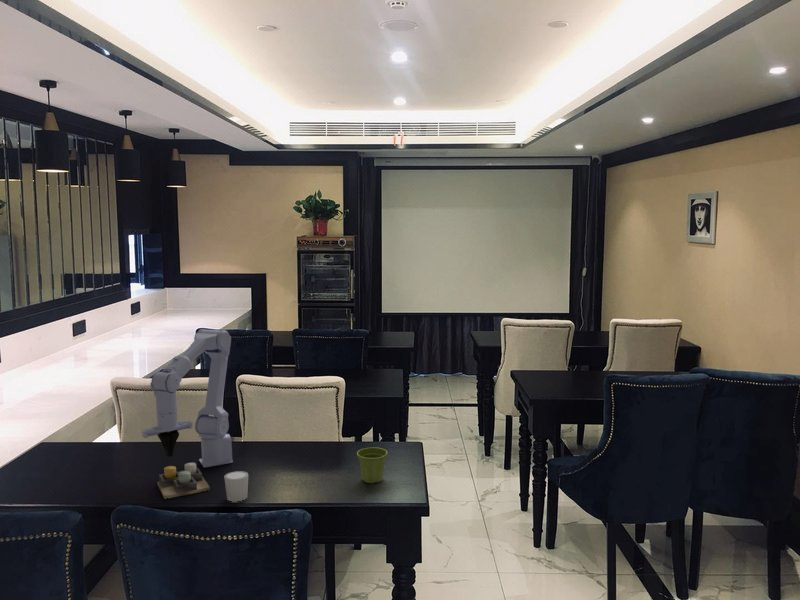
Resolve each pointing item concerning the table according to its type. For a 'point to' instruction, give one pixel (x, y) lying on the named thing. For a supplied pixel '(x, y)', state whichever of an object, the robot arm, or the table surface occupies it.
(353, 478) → the table surface
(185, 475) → the sage button
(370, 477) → the plant pot
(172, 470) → the amber button
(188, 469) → the white small cylinder
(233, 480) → the white cup
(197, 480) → the button panel board
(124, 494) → the table surface
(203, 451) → the robot arm
